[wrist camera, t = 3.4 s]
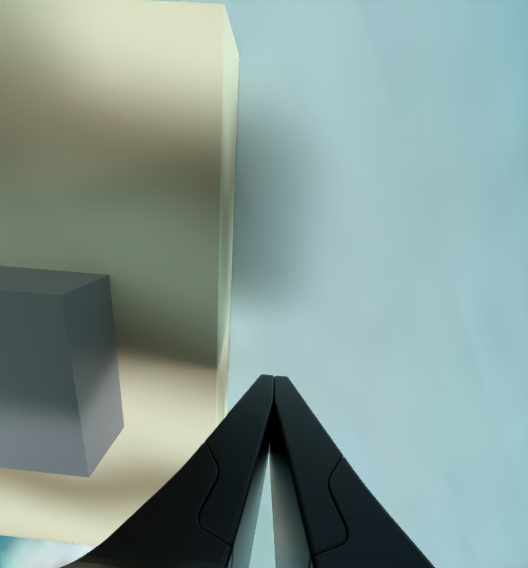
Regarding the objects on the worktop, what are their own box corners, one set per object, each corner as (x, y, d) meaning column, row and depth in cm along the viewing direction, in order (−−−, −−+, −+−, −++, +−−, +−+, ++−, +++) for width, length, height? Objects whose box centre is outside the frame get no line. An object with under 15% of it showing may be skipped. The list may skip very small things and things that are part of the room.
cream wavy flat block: (223, 502, 15) (212, 560, 12) (-27, 474, 15) (-84, 525, 13) (239, 56, 9) (224, 4, 7) (-165, 35, 9) (-316, -21, 7)
